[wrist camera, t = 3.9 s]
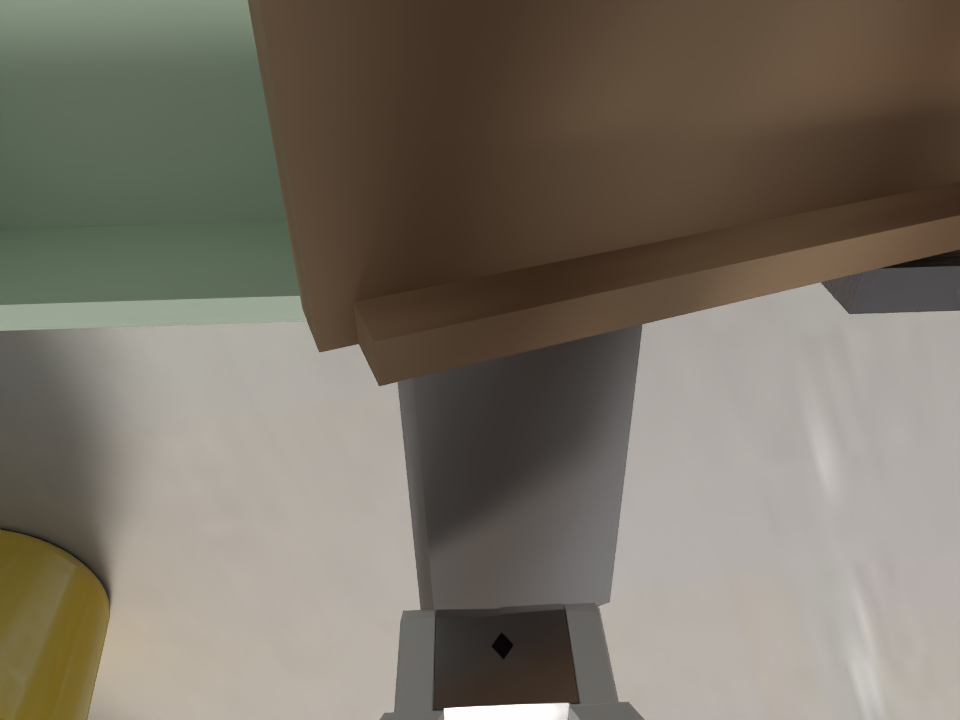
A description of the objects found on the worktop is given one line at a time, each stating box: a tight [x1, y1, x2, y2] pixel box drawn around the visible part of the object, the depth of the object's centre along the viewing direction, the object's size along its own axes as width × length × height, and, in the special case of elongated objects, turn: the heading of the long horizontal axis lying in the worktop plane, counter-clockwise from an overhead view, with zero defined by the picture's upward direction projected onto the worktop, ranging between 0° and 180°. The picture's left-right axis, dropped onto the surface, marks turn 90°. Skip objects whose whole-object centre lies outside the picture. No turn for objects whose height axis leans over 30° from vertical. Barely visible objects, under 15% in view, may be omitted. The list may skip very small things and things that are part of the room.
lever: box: [248, 0, 960, 610], centre depth 12 cm, size 20×13×4 cm, turn 91°
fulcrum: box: [821, 249, 960, 314], centre depth 13 cm, size 2×9×8 cm, turn 1°
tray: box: [0, 0, 307, 331], centre depth 14 cm, size 10×11×4 cm
